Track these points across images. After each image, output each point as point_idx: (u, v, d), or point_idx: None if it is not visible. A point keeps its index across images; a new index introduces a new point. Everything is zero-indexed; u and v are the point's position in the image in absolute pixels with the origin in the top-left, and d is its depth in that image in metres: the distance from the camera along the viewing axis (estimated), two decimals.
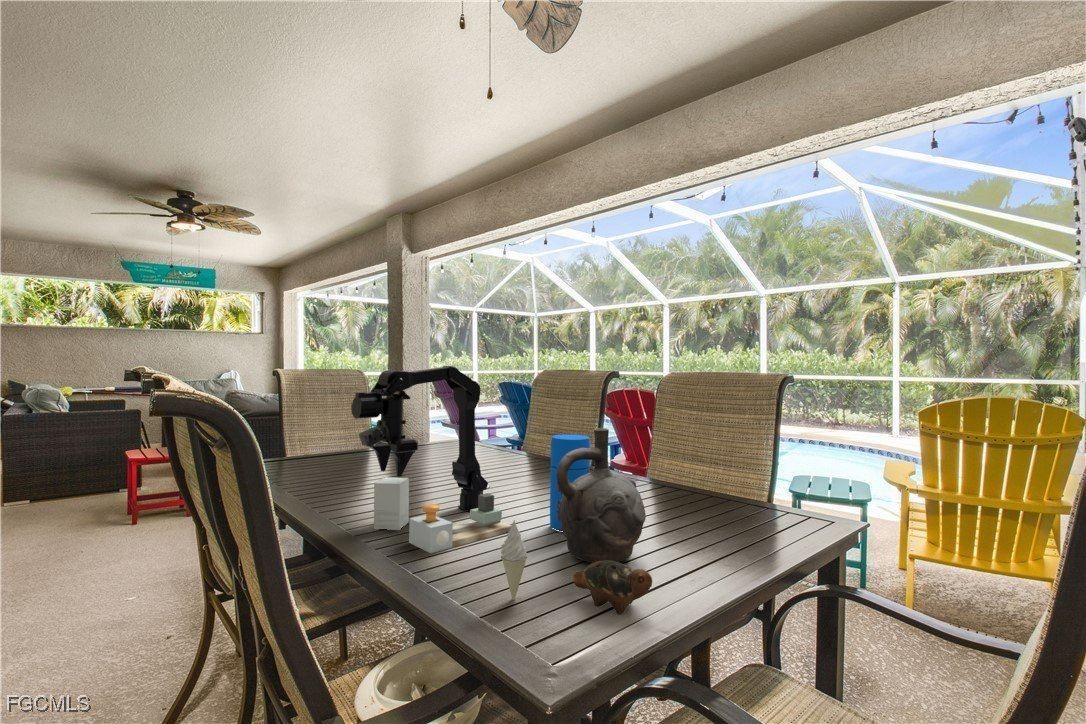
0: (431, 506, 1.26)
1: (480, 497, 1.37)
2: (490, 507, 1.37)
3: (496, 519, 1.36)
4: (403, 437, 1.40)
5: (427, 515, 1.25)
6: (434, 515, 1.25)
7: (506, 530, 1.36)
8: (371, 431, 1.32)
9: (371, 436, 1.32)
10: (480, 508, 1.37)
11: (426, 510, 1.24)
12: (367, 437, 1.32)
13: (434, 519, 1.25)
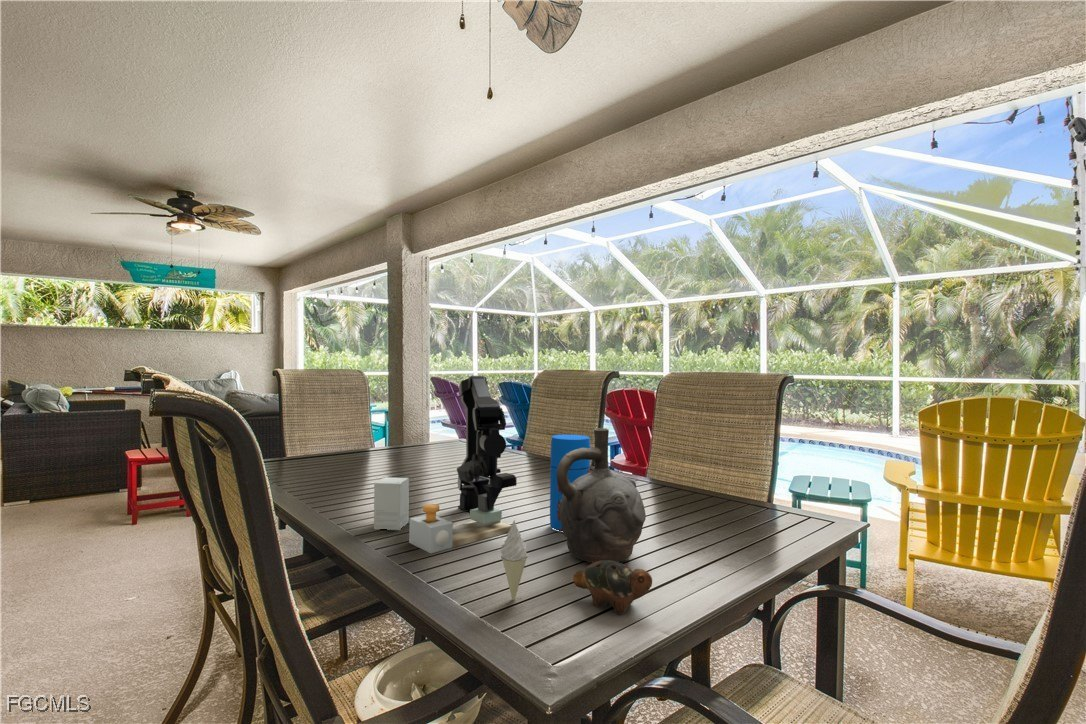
0: (431, 506, 1.26)
1: (480, 497, 1.37)
2: None
3: (496, 519, 1.36)
4: (498, 471, 1.38)
5: (427, 515, 1.25)
6: (434, 515, 1.25)
7: (506, 530, 1.36)
8: (471, 467, 1.31)
9: (472, 472, 1.30)
10: (480, 508, 1.37)
11: (426, 510, 1.24)
12: (467, 473, 1.30)
13: (434, 519, 1.25)
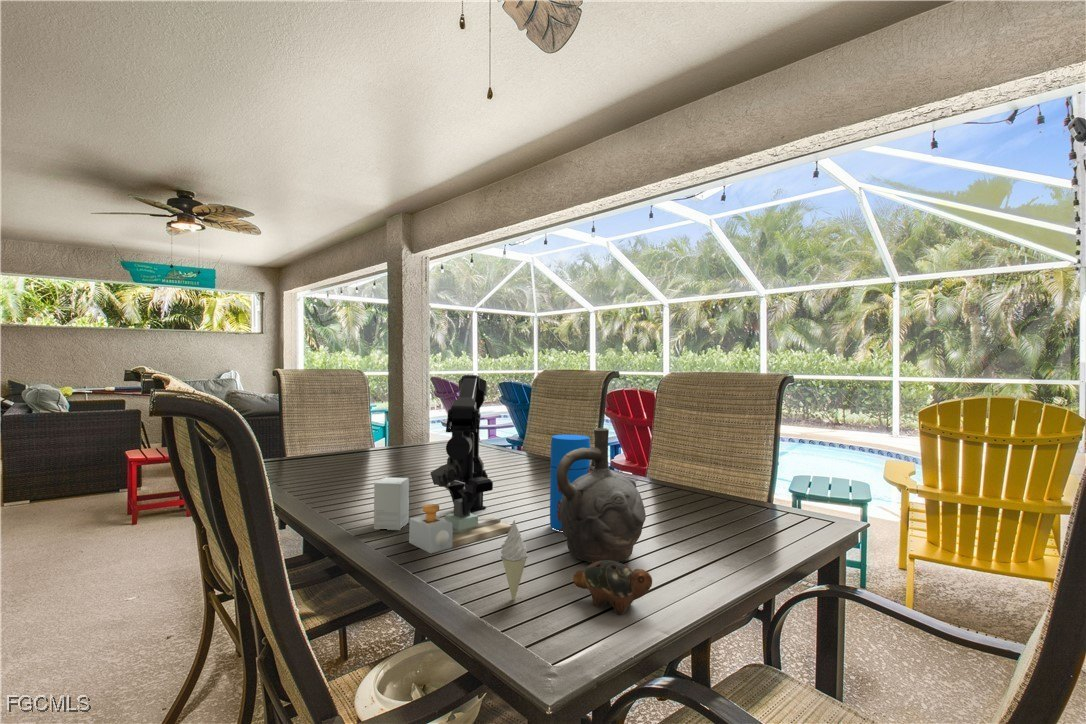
0: (431, 506, 1.26)
1: (455, 502, 1.32)
2: None
3: (472, 525, 1.31)
4: (475, 475, 1.32)
5: (427, 515, 1.25)
6: (434, 515, 1.25)
7: (506, 530, 1.36)
8: (445, 471, 1.25)
9: (445, 476, 1.25)
10: (455, 513, 1.32)
11: (426, 510, 1.24)
12: (441, 477, 1.25)
13: (434, 519, 1.25)
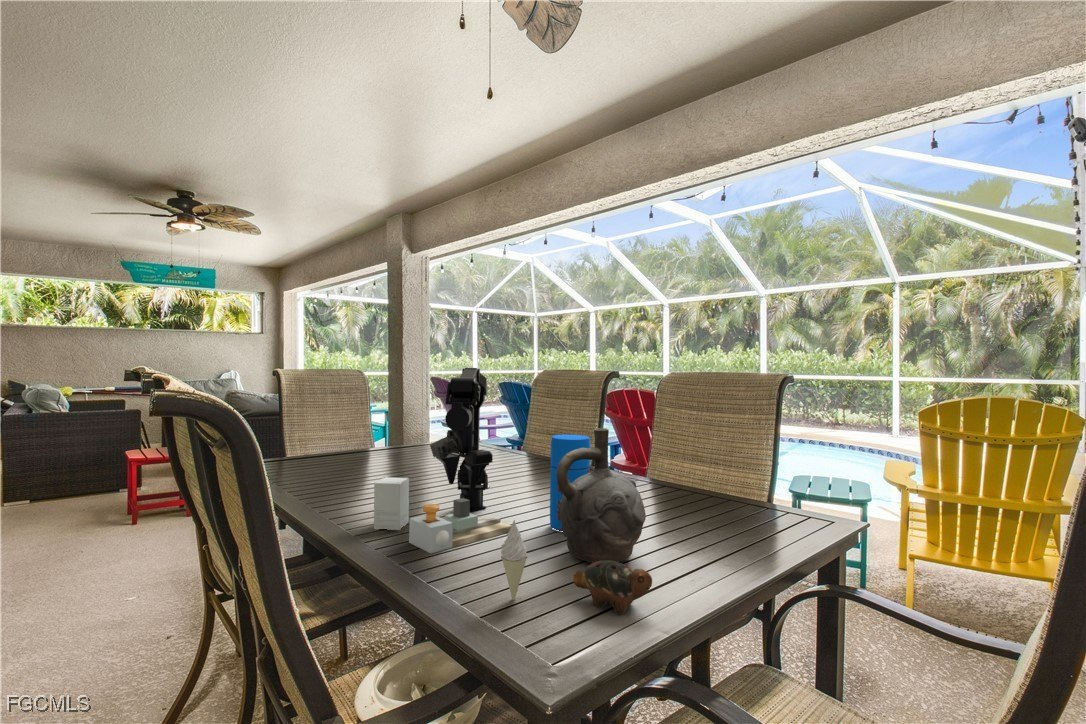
0: (431, 506, 1.26)
1: (455, 502, 1.32)
2: (466, 512, 1.31)
3: (472, 525, 1.31)
4: (474, 448, 1.32)
5: (427, 515, 1.25)
6: (434, 515, 1.25)
7: (506, 530, 1.36)
8: (445, 442, 1.25)
9: (445, 447, 1.25)
10: (455, 514, 1.31)
11: (426, 510, 1.24)
12: (441, 449, 1.25)
13: (434, 519, 1.25)
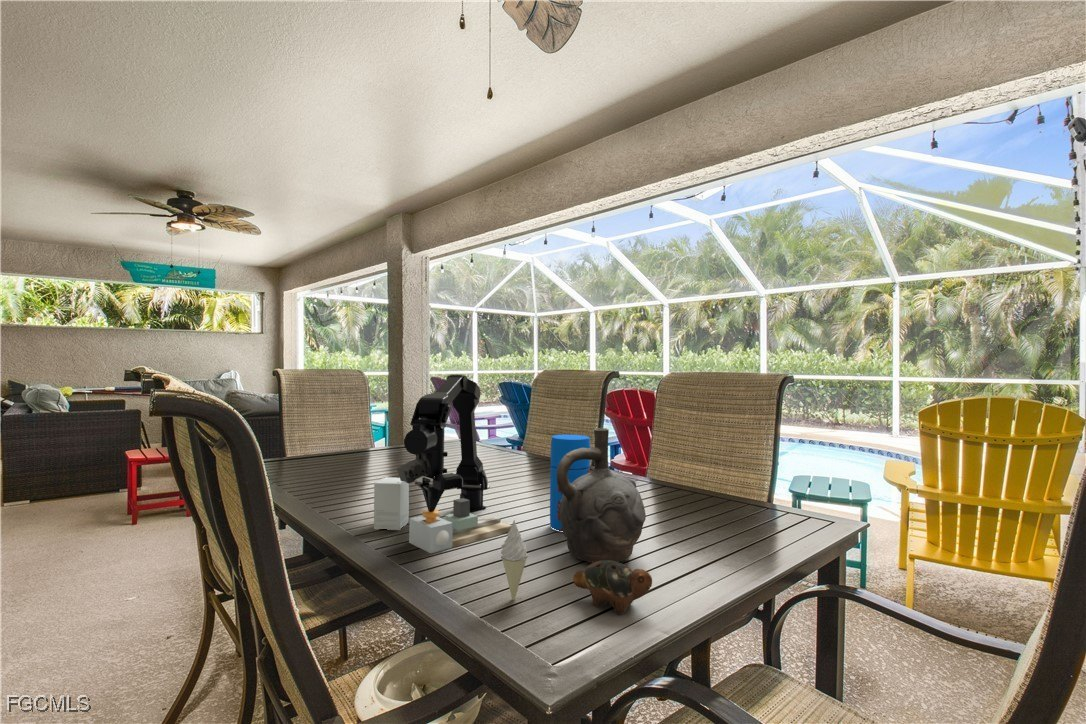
0: None
1: (455, 502, 1.32)
2: (466, 512, 1.31)
3: (472, 525, 1.31)
4: (445, 471, 1.26)
5: (427, 520, 1.25)
6: (434, 520, 1.25)
7: (506, 530, 1.36)
8: (412, 466, 1.19)
9: (412, 472, 1.18)
10: (455, 514, 1.31)
11: (426, 515, 1.24)
12: (407, 473, 1.19)
13: None
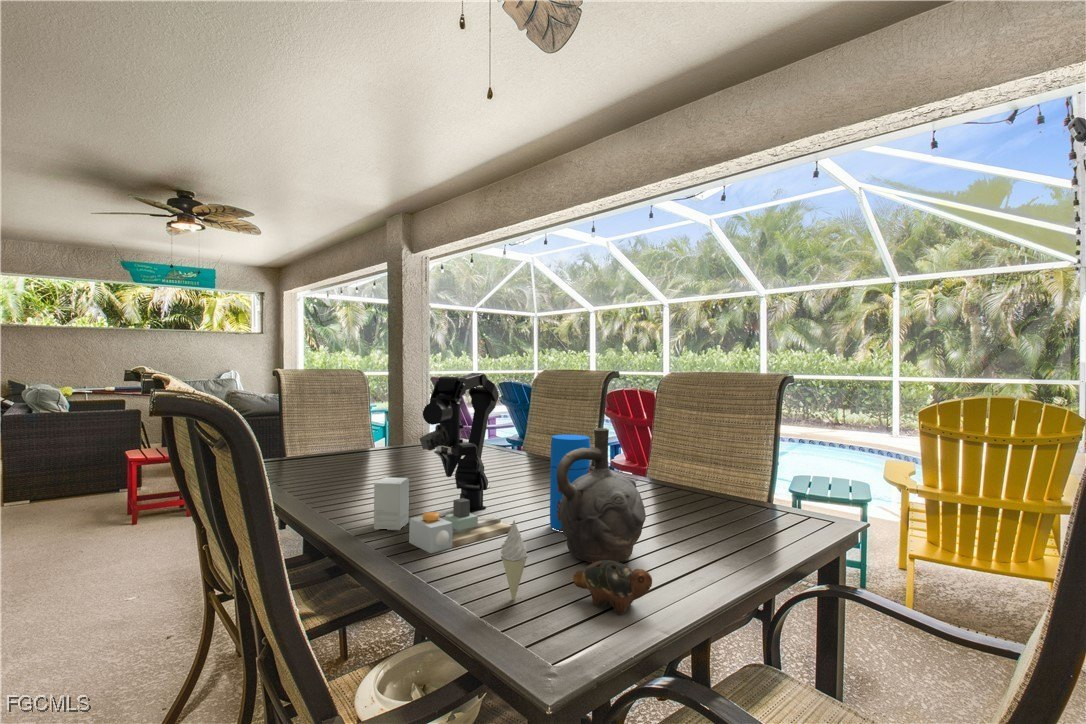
0: (431, 514, 1.26)
1: (455, 502, 1.32)
2: (466, 512, 1.31)
3: (472, 525, 1.31)
4: (461, 441, 1.44)
5: None
6: None
7: (506, 530, 1.36)
8: (433, 435, 1.36)
9: (433, 440, 1.36)
10: (455, 514, 1.31)
11: (426, 518, 1.24)
12: (429, 441, 1.36)
13: None
